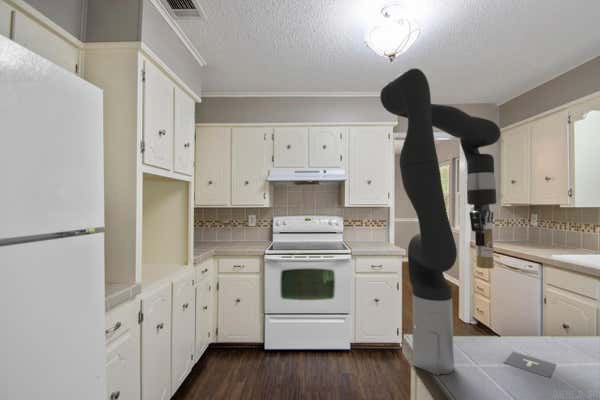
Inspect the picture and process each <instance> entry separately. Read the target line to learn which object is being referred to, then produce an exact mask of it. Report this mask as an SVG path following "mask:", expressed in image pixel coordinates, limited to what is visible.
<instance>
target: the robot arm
mask: <svg viewBox="0 0 600 400" xmlns="http://www.w3.org/2000/svg"><path fill="white" fill-rule="evenodd" d="M430 88H431V87H430V84H429V81H428V79H427V76H426V74H425V73H424V72H423V71H422V70H421V69H419V68H418V67H417V68H416V67H413V68H409V69H407V70H406V71H404V72H402V73H401V74H399V75H398V76H396V77H395V78H394V79H391V80H390V81H389V82H388V83H387V84H385V85H384V86H383V87H382V89H381V91H380V95H379V97H380V101H381V104H382V107H383V108H384V109H385V110H386V111H387V112H389V113H390V114H392V115H395V116H398V117H402V118H405V119H407V131H406V134H405V138H404V142H403V145H402V148H401V152H400V155H399V156H400V157H399V168H400V169H399V170H400V175H401V176H400V177H401V181H402V186H403V188H404V191H405V194H406V196H407V198H408V200H409V201H410V203H411V205H412V207H413V209H414V211H415V213H416V216H417V220H418V225H419V232H418V233H416V234H415V235H414V236H413V237H412V238H411V239H410V241H409V243H408V248H407V264H408V277H409V283H410V285H411V289H412V323H413V324H412V361H413V362H412V363H413V364H412V365H413V366H414V367H416V368H419V369H421V370H423V371H426V372H428V373H430V374H432V375H436V376H440V375H446V374H447V375H448V374H450V373H453V372H454V371H455V359H454V358H455V357H454V355H455V354H454V326H453V325H454V323H453V320H454V319H453V291H452V290H453V289H452V286H451V285H450V284H449V282H448V281H447V279H446V277H445V275H444V272H447V271H450V270H451V269H452V268H454V265H455V263H456V262H457V261H456V260H457V257H458V251H457V246H456V240H455V238H454V237H455V236H454V234H453V231H452V227H451V224H450V219H449V217H448V212H447V207H446V200H445V195H444V189H443V185H442V177H441V169H440V164H439V158H438V154H437V150H436V148H437V147H436V141H435V136H434V128H437V129H438V130H441V131H442V132H444V133H445V134H448V135H450V136H452V137H454V138H456V139H459V143H460V146H461V150H462V151H463V154H464V158H465V161H466V173H467V174H466V201H467V203H466V204H468V205H469V206H470V205H471V206H473V210H471V211H469V220H470V226H471V231H472V232H474V234H475V235H474V239H475V247H476V246H484V245H485V235H484V234H483V233H484V232H485V226H486V225H487V223H492V224H493V225H494V212H493V211H491V210H490V206H491V205H496V204H497V183H496V182H497V180H496V175H495V158H494V156H493V155H492V154H490V153H481V152H480V151H479V149H480V148H483V147H487V146H488V147H489V146H491V145H494V144H495V143H497V142H498V141H499V140H500V138H501V133H502V132H501V129H500V127H499V126H498V124H497V123H495V122H494V121H492V120H490V119H487V118H484V117H483V118H482V117H478V116H472V115H470V114H469V113H466V112H464V111H463V110H462V109H460V108H457V107H455V106H452V105H447V104H440V103H438V104H437V103H432V102H431V90H430ZM433 127H434V128H433ZM478 225H479V227H477V226H478Z"/></svg>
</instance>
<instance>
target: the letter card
mask: <svg viewBox="0 0 600 400" xmlns="http://www.w3.org/2000/svg"><path fill="white" fill-rule="evenodd" d="M503 364H506V365H509V366H512V367H516V368H518V369H521V370H523V371H524V370H525V371H528V372H531V373H534V374H536V375H539V376H543V377H545V378H549V379H551V377H552V374H553V373H554V370H555V368H556V366H557V364H556V363H552V362H549V361H546V360H543V359H539V358H536V357H533V356H530V355H525V354H522V353H519V352H515V351H512V352H511V353H510V354H509V356H507V358H506V359H505V361H504V362H503Z"/></svg>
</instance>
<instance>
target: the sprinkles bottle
mask: <svg viewBox="0 0 600 400" xmlns="http://www.w3.org/2000/svg"><path fill="white" fill-rule="evenodd" d="M493 225H494V223H493V224H492V223H487V225H486V226H485V232H484V233H483V234H484V235H485V245H484V246H476V245H475V256H476V264H475V266H476V267H477V268H479V269H494V268H495V266H494V245H493V244H494V242H493V241H494V240H493V229H494V226H493ZM477 227H479V225H478V226H477Z"/></svg>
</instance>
